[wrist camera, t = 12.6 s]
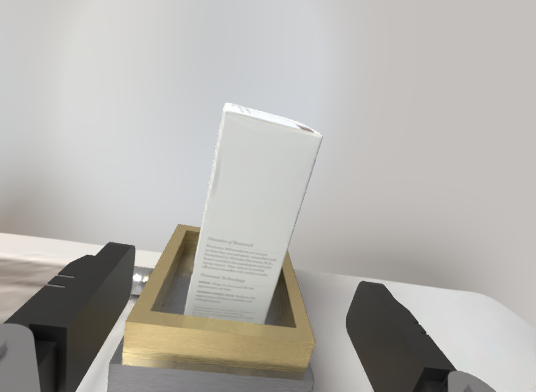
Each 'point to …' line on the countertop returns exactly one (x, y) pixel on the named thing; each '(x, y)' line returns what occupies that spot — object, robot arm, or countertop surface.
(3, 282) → the countertop surface
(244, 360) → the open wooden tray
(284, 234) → the skincare box
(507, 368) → the countertop surface
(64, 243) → the countertop surface
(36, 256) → the countertop surface
